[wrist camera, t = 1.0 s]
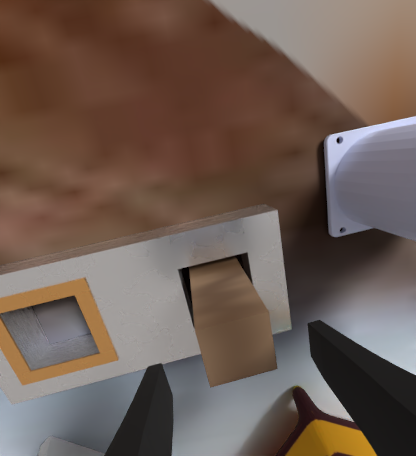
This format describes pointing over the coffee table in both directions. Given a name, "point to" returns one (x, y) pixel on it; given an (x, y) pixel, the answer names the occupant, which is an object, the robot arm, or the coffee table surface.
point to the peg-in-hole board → (129, 300)
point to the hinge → (65, 448)
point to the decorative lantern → (323, 433)
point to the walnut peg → (230, 322)
